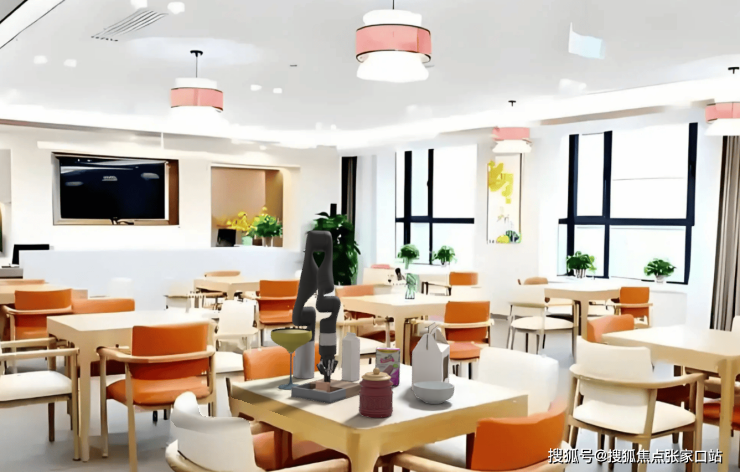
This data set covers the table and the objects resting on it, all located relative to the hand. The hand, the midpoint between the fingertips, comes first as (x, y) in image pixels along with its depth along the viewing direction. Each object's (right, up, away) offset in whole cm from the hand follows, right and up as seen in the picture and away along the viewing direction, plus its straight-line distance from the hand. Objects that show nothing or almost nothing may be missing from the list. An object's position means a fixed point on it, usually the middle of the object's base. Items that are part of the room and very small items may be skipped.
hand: (327, 384), depth 309 cm
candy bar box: (+26, -5, +23) cm, 35 cm away
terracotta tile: (-1, -1, -2) cm, 2 cm away
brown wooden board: (+3, -5, +5) cm, 7 cm away
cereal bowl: (+44, -6, -9) cm, 45 cm away
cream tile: (-4, -2, -6) cm, 7 cm away
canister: (+20, -5, -31) cm, 37 cm away
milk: (+9, -5, +32) cm, 34 cm away
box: (-3, -5, -5) cm, 7 cm away
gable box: (+45, -5, +20) cm, 50 cm away
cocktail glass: (-17, -4, +15) cm, 23 cm away
